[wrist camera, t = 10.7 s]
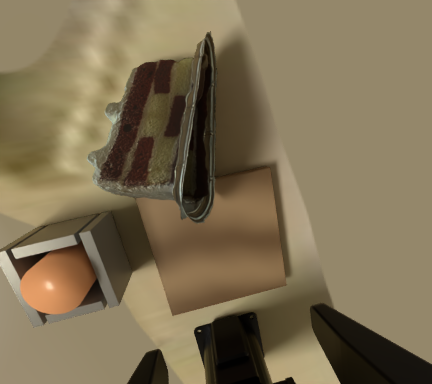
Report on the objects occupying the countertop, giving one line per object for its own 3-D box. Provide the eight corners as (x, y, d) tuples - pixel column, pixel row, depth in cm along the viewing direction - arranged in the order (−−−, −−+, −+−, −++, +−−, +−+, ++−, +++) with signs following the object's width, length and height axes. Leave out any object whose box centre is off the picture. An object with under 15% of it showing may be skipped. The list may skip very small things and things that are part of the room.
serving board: (282, 278, 22) (286, 285, 21) (173, 307, 21) (172, 315, 20) (265, 166, 19) (270, 167, 18) (138, 195, 18) (135, 198, 17)
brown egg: (114, 267, 19) (93, 305, 15) (69, 278, 19) (35, 320, 14) (99, 227, 18) (72, 256, 14) (51, 239, 18) (9, 271, 13)
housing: (132, 272, 20) (119, 305, 16) (64, 289, 19) (33, 327, 16) (110, 210, 18) (89, 230, 14) (35, 227, 18) (-7, 253, 14)
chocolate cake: (114, 30, 15) (-15, 156, 9) (214, 20, 14) (154, 162, 7) (159, 137, 23) (110, 247, 16) (227, 138, 22) (203, 259, 15)
